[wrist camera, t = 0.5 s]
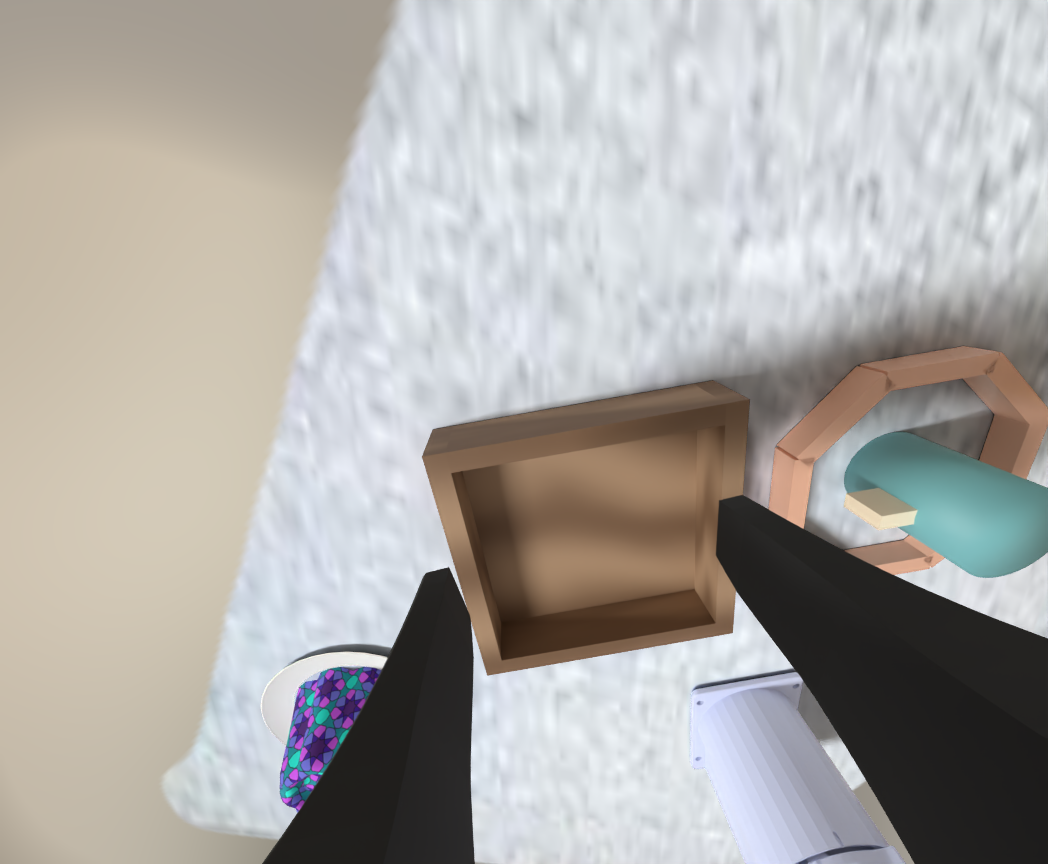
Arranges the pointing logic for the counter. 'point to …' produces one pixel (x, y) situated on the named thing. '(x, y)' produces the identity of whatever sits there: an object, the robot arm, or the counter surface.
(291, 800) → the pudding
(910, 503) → the teal tapered cylinder
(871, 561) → the collar
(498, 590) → the tray
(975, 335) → the counter surface
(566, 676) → the counter surface
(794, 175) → the counter surface
